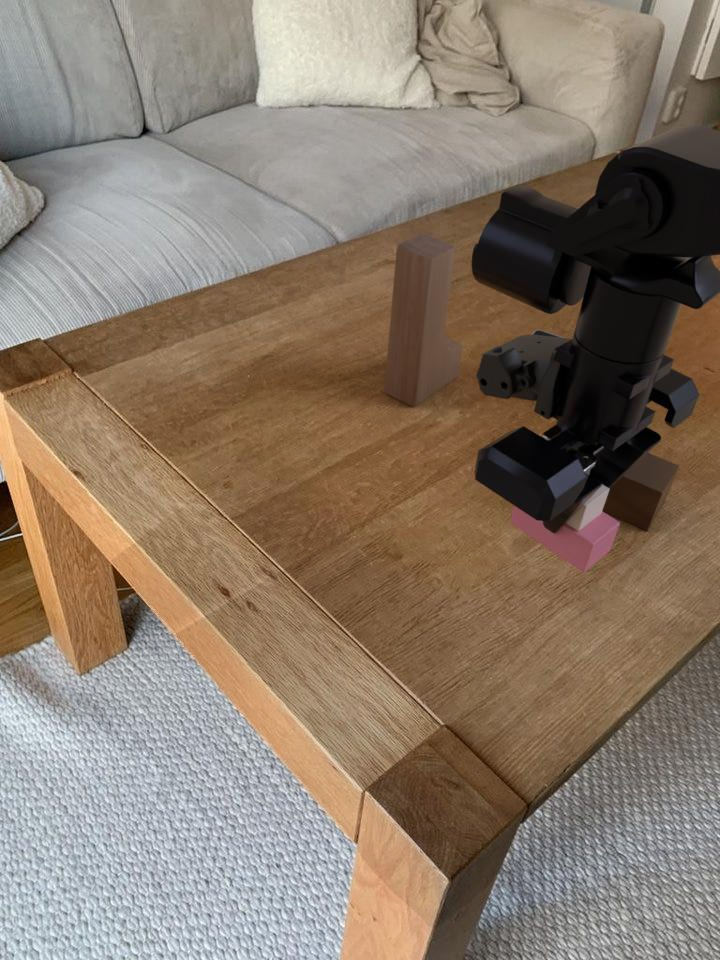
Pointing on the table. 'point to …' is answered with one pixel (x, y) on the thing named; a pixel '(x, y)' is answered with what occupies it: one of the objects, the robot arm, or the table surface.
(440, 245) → the wooden block
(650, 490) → the walnut block
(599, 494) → the pink block with cube
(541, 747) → the table surface
